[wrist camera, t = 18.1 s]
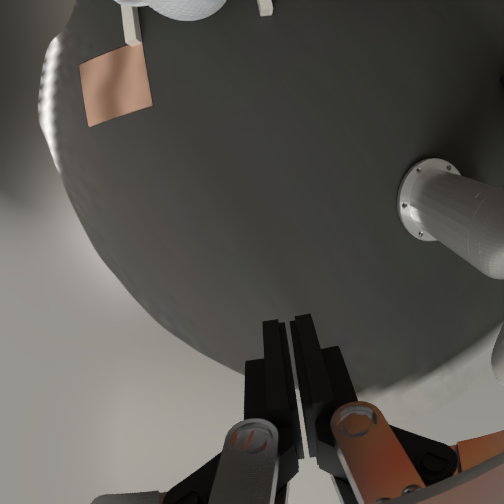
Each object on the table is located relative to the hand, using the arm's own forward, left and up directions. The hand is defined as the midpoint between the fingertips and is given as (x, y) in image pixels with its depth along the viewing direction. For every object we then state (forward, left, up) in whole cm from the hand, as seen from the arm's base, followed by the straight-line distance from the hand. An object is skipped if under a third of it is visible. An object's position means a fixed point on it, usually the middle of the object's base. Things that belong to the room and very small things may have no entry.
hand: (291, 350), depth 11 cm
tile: (+17, -19, -32) cm, 41 cm away
